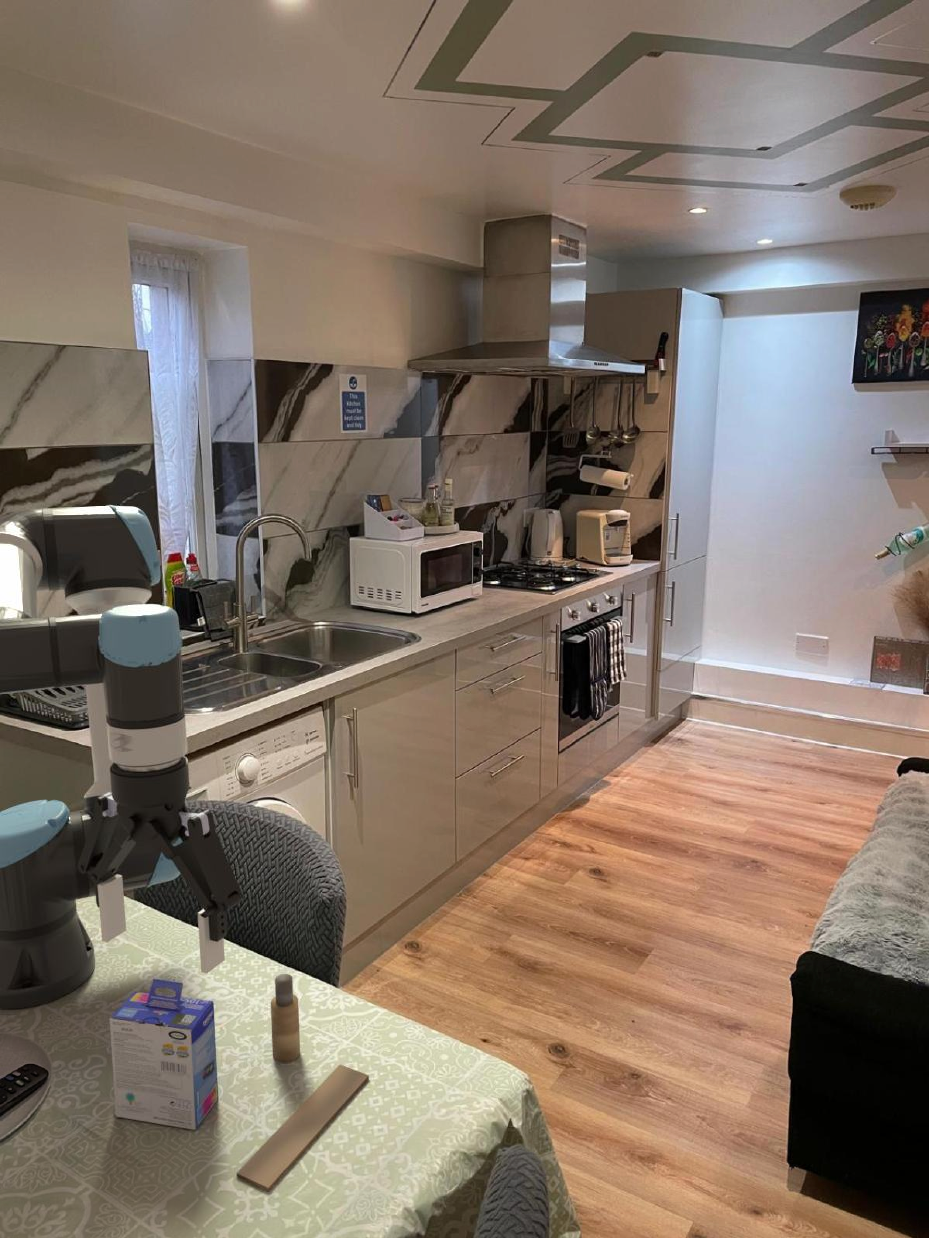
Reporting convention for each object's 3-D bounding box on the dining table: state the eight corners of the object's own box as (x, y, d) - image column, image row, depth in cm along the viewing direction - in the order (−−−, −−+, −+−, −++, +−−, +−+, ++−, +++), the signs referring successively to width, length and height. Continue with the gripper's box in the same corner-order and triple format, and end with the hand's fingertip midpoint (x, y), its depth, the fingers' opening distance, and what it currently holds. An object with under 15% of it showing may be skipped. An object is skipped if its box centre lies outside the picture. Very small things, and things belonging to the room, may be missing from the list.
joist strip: (236, 1176, 92) (236, 1172, 92) (339, 1067, 108) (339, 1064, 108) (268, 1191, 91) (268, 1187, 91) (368, 1078, 106) (368, 1075, 106)
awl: (267, 1057, 110) (264, 982, 108) (284, 1041, 112) (281, 968, 110) (288, 1066, 108) (286, 989, 106) (305, 1049, 111) (303, 975, 109)
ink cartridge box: (222, 1096, 103) (215, 980, 100) (198, 1132, 98) (190, 1011, 95) (141, 1083, 105) (132, 969, 102) (113, 1118, 100) (103, 998, 97)
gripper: (30, 752, 95) (48, 940, 100) (222, 791, 85) (233, 999, 89) (88, 731, 102) (102, 908, 106) (272, 765, 92) (280, 960, 96)
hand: (162, 950), depth 98 cm, fingers open, 13 cm apart
